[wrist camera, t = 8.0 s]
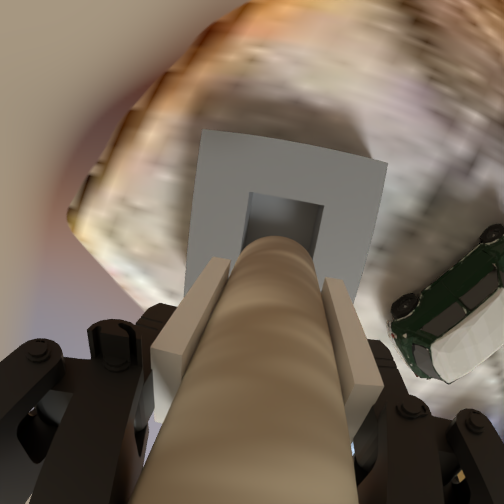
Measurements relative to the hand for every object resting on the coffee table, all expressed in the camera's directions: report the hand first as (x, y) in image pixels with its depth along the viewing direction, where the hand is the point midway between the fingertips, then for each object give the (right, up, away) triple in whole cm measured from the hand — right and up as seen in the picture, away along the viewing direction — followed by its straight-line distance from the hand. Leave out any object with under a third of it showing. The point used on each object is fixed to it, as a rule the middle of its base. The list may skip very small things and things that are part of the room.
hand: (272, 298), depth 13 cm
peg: (0, +1, +3) cm, 3 cm away
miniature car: (+21, -2, +15) cm, 26 cm away
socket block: (+2, +4, +14) cm, 15 cm away
